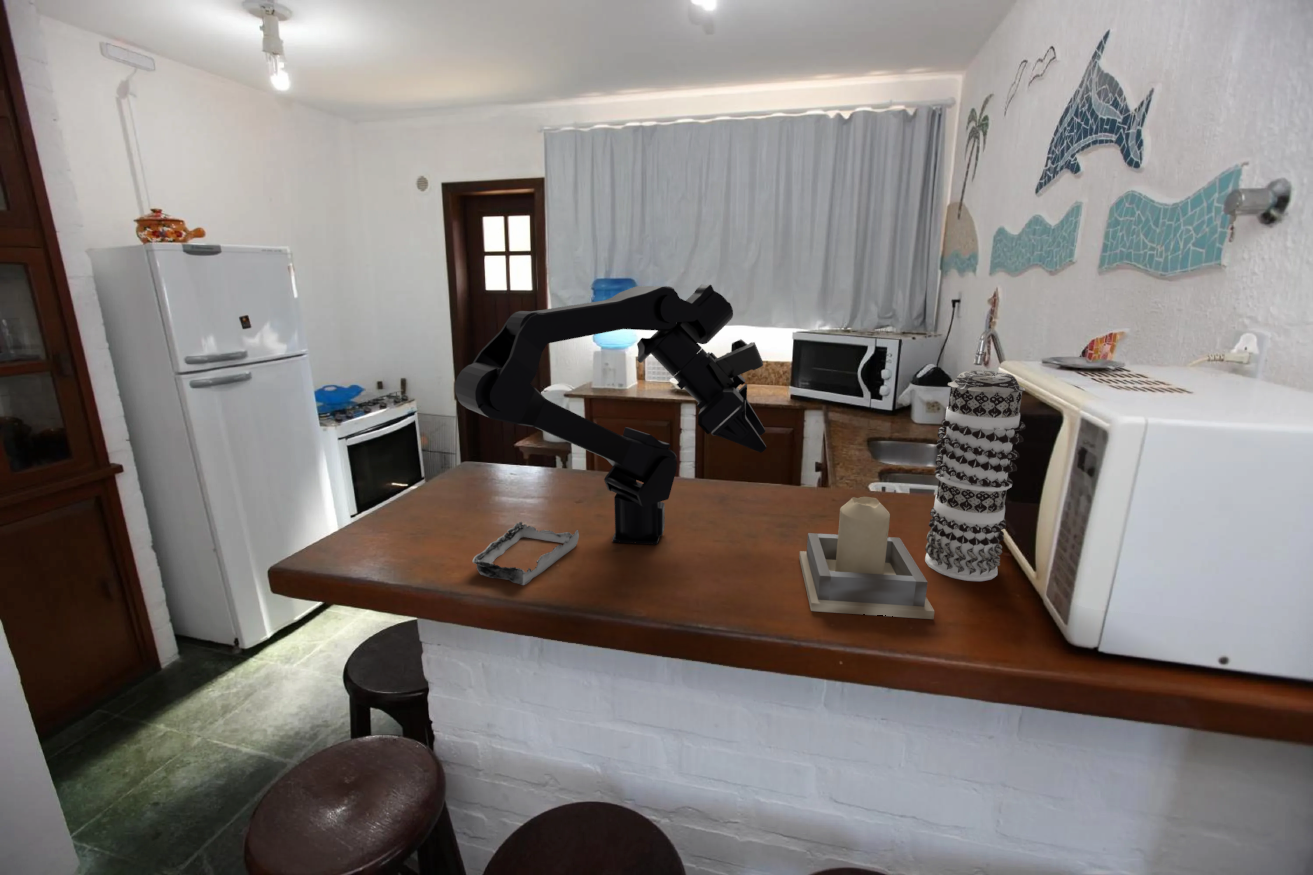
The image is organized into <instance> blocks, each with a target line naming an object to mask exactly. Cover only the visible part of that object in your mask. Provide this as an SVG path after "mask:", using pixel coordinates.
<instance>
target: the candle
mask: <svg viewBox="0 0 1313 875" xmlns="http://www.w3.org/2000/svg"><path fill="white" fill-rule="evenodd" d="M890 517H891V514H890V512H889V511H888V510H887V508H886V507H885V506H884V505H883V504H882V503H881V502H880V500H878V498H876V497H870V496H861V497H855V496H853V497H851V498H850V499H849V500H848V501H847V502H846V503H844V504H843V505H842V506H841V507H840V508H839V519H838V521H839V522H838V533H837V535H838V542H837V555H836V567H835V572H852V573H869V574H884V567H885V558H886V549H887V539H888V537H889V529H890Z"/></svg>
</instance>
